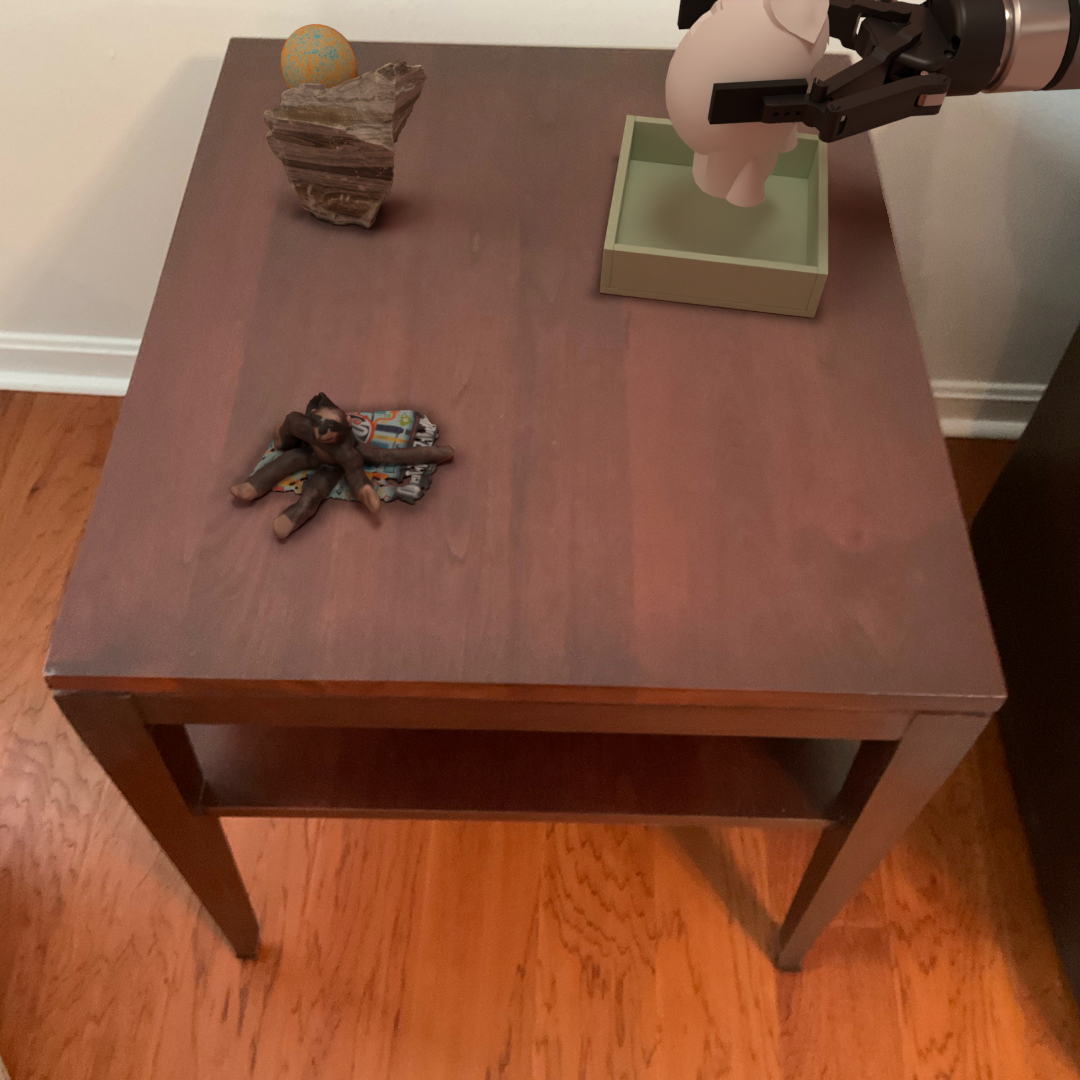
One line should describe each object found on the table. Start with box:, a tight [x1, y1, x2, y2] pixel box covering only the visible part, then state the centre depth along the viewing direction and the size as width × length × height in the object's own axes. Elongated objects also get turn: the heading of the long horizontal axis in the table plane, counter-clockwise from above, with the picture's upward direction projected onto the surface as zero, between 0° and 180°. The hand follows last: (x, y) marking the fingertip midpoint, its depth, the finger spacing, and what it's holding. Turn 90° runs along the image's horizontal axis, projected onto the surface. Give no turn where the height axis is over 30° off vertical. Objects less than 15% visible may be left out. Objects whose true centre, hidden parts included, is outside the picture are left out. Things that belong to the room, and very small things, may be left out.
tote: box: [599, 114, 829, 319], centre depth 87 cm, size 18×18×5 cm
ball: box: [280, 23, 358, 89], centre depth 96 cm, size 7×7×7 cm
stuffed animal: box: [228, 391, 455, 539], centre depth 74 cm, size 12×10×12 cm
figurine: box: [664, 0, 830, 207], centre depth 76 cm, size 11×11×15 cm
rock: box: [263, 58, 427, 230], centre depth 84 cm, size 13×6×15 cm, turn 72°
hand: (694, 55), depth 75 cm, fingers closed on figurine, 11 cm apart
